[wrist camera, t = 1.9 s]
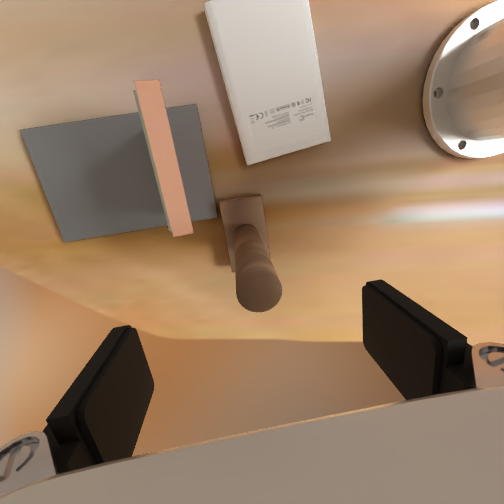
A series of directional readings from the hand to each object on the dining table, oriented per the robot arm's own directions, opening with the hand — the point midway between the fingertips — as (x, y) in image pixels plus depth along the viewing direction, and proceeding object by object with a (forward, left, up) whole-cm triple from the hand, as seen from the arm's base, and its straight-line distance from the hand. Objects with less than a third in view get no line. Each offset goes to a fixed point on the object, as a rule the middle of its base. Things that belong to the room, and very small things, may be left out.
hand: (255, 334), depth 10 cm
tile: (+6, -7, -16) cm, 18 cm away
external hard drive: (-5, -13, -18) cm, 23 cm away
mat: (+9, -7, -17) cm, 21 cm away
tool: (-1, 0, -17) cm, 17 cm away
